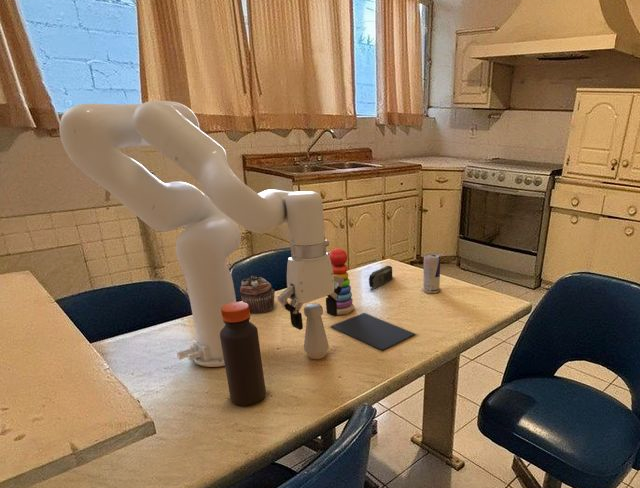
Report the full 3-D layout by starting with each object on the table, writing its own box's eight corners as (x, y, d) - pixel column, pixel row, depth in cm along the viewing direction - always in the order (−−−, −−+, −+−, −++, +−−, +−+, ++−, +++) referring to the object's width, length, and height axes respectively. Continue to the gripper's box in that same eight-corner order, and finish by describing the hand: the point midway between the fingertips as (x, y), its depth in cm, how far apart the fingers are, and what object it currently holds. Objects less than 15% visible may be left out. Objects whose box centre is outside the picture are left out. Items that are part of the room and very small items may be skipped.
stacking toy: (351, 316, 130) (348, 253, 123) (324, 315, 130) (319, 252, 123) (355, 305, 138) (353, 245, 131) (329, 305, 138) (325, 245, 131)
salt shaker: (304, 351, 111) (299, 301, 106) (327, 348, 112) (324, 299, 107) (305, 362, 106) (301, 311, 101) (330, 359, 107) (327, 308, 102)
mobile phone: (386, 264, 161) (365, 275, 148) (393, 265, 160) (373, 276, 147) (386, 277, 163) (365, 289, 150) (393, 278, 161) (373, 291, 148)
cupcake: (267, 315, 130) (263, 282, 126) (236, 313, 131) (231, 280, 128) (282, 303, 139) (278, 272, 135) (253, 300, 140) (248, 270, 136)
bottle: (225, 396, 93) (209, 306, 85) (256, 384, 97) (244, 297, 89) (239, 411, 88) (224, 317, 81) (272, 397, 92) (260, 307, 85)
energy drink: (442, 289, 151) (443, 255, 146) (434, 294, 147) (435, 259, 142) (428, 286, 154) (429, 252, 149) (420, 291, 149) (420, 256, 145)
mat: (382, 351, 111) (382, 349, 111) (330, 327, 123) (330, 325, 123) (415, 335, 120) (415, 333, 119) (363, 314, 132) (363, 312, 132)
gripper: (329, 239, 107) (334, 306, 114) (263, 255, 95) (273, 328, 102) (350, 244, 103) (354, 314, 109) (283, 262, 91) (292, 338, 97)
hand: (315, 321), depth 106 cm, fingers open, 9 cm apart
